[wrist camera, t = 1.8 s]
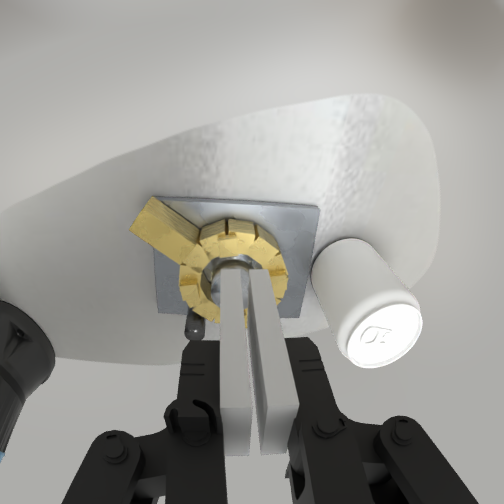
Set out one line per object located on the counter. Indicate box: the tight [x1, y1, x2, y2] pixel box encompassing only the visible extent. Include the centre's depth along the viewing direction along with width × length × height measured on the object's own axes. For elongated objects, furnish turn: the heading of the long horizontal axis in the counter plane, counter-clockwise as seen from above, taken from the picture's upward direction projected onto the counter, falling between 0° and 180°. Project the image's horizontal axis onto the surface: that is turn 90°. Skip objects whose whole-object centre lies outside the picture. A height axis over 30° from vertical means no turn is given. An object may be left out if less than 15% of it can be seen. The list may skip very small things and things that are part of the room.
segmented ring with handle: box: [129, 196, 288, 328], centre depth 29 cm, size 16×10×4 cm, turn 50°
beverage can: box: [311, 238, 422, 368], centre depth 29 cm, size 8×8×12 cm
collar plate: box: [154, 197, 320, 340], centre depth 30 cm, size 16×13×6 cm
